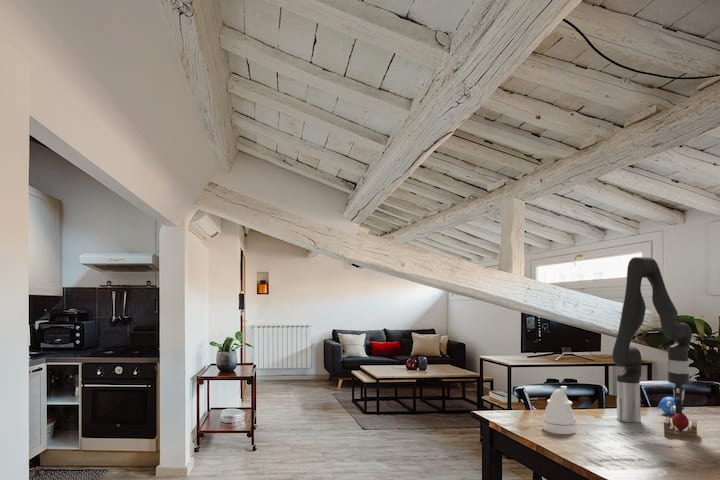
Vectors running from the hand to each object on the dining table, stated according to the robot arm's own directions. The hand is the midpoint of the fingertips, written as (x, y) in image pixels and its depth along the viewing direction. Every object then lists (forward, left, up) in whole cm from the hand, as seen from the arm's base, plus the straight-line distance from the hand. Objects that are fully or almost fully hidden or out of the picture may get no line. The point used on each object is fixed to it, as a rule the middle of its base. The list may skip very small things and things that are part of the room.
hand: (679, 411), depth 217 cm
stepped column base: (0, 0, -10) cm, 10 cm away
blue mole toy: (+7, +41, -10) cm, 43 cm away
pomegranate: (0, 0, -8) cm, 8 cm away
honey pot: (-47, -8, -10) cm, 49 cm away
